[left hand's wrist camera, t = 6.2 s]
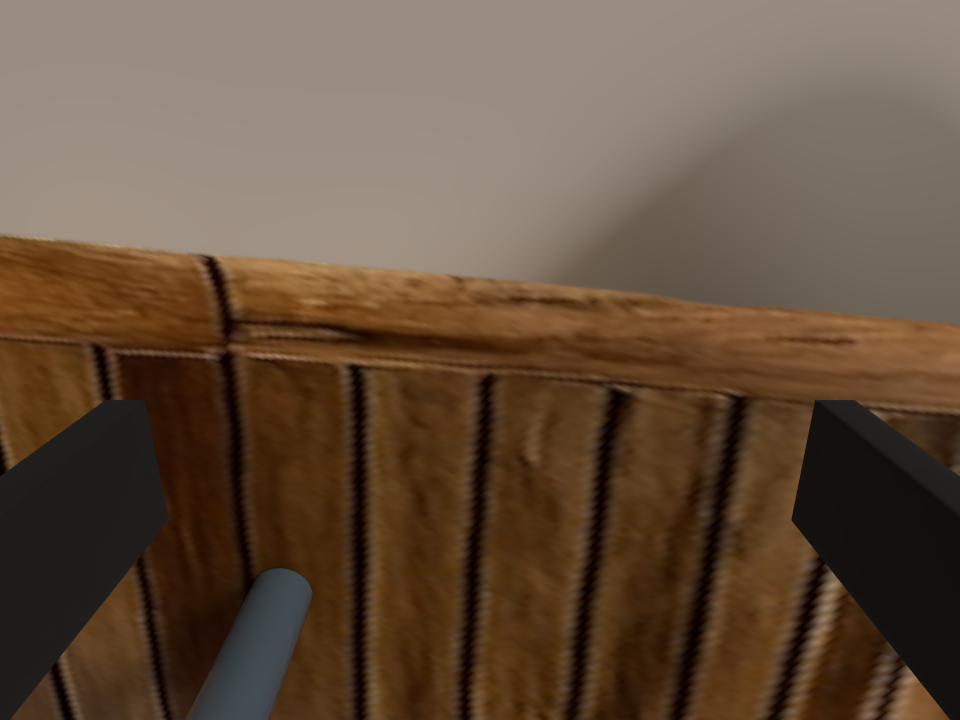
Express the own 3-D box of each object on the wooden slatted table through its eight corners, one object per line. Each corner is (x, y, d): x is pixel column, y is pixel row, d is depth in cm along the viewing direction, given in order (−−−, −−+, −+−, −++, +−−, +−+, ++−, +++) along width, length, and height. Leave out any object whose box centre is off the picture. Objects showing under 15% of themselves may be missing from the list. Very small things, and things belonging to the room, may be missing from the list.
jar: (241, 597, 48) (132, 811, 33) (271, 557, 47) (172, 760, 32) (293, 625, 49) (210, 846, 34) (323, 587, 48) (252, 798, 33)
